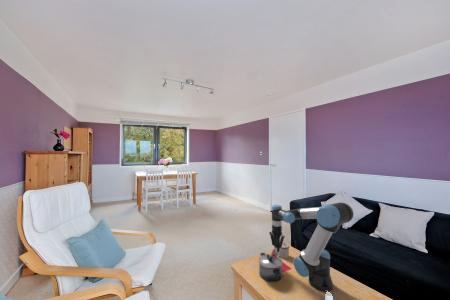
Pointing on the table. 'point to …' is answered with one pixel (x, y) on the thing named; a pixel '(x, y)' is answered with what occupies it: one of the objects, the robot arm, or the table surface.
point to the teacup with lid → (284, 250)
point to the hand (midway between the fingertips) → (277, 255)
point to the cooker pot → (270, 273)
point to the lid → (270, 261)
